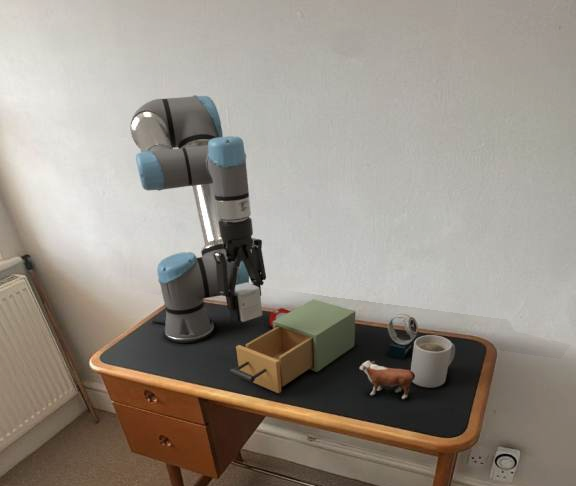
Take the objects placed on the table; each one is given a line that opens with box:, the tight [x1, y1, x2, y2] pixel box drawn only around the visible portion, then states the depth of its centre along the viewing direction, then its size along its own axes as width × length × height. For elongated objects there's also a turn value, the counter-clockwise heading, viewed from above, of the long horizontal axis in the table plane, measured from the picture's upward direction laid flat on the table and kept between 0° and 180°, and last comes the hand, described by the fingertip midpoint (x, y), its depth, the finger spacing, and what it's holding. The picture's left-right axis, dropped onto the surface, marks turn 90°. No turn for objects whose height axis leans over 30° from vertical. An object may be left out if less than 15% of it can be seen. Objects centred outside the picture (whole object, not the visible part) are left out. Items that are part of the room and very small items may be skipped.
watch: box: [387, 313, 419, 360], centre depth 126 cm, size 6×8×11 cm
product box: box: [229, 282, 263, 323], centre depth 116 cm, size 6×6×7 cm
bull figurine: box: [359, 360, 415, 400], centre depth 112 cm, size 4×13×8 cm, turn 69°
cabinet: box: [272, 298, 357, 373], centre depth 130 cm, size 18×15×11 cm
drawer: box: [229, 326, 314, 394], centre depth 119 cm, size 22×14×9 cm, turn 139°
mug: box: [410, 334, 456, 388], centre depth 116 cm, size 11×10×10 cm
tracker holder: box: [269, 307, 292, 329], centre depth 148 cm, size 12×4×10 cm
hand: (246, 314), depth 118 cm, fingers closed on product box, 7 cm apart
